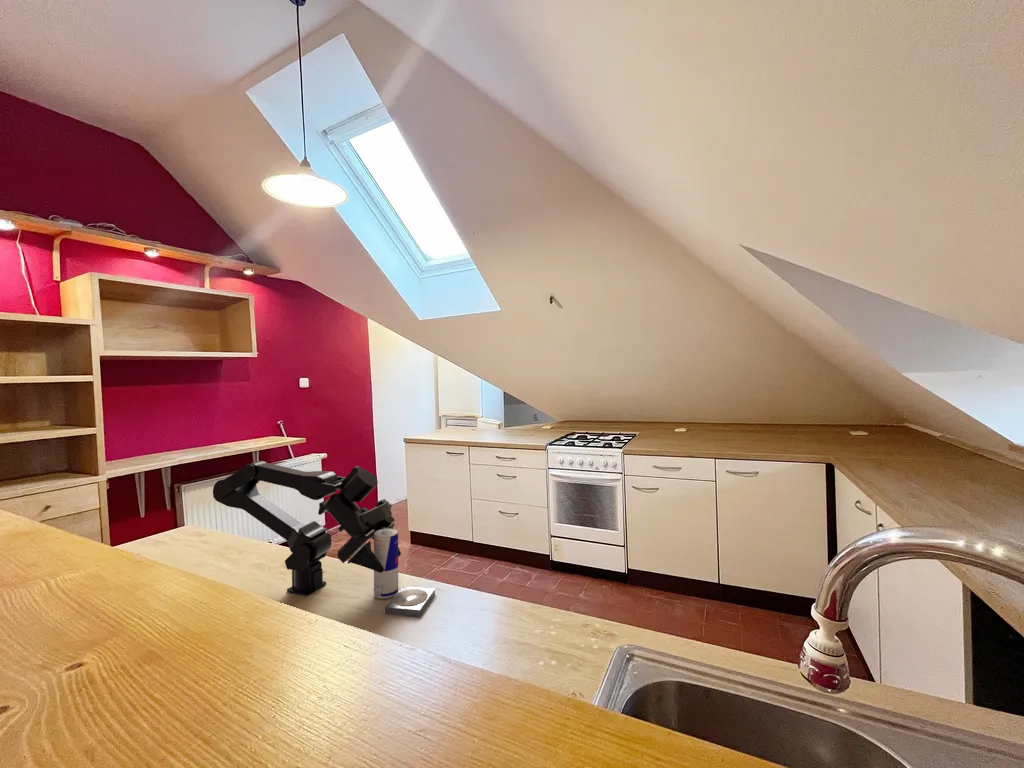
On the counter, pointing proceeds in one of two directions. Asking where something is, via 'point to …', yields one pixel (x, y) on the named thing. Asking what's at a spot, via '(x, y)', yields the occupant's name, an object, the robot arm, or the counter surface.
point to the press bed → (410, 601)
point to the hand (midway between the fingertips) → (391, 563)
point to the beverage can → (386, 563)
